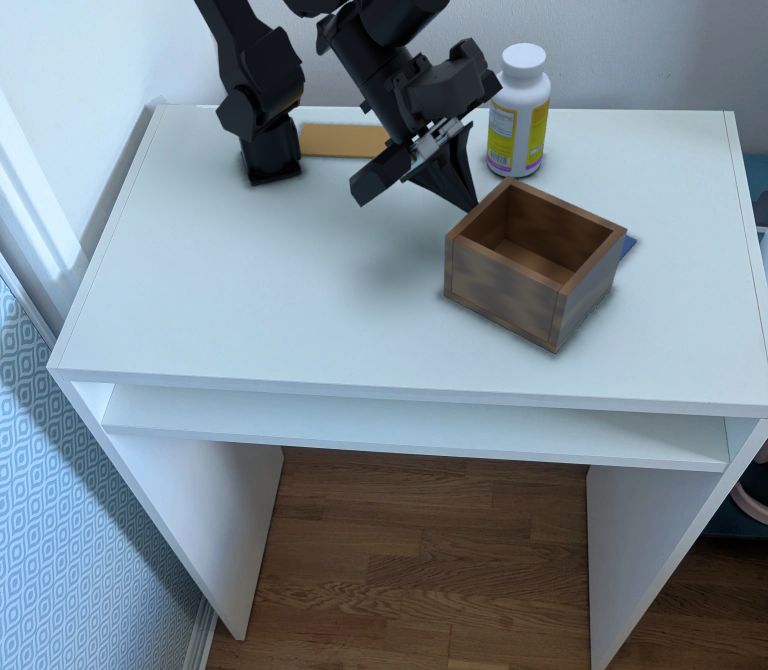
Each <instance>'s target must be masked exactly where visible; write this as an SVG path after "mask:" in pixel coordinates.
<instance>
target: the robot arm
mask: <svg viewBox="0 0 768 670" xmlns="http://www.w3.org/2000/svg"><path fill="white" fill-rule="evenodd" d="M193 2H194V4H195V5H196V8H197V9H198V11H199V13H200V15H201V16H202V18H203V20H204V22H205V24H206V25H207V27H208V29H209V31H210V32H211V35H212V36H213V38H214V41H215V42H216V47H217V62H218V76H219V79H220V81H221V83H222V85H223V87H224V90H225V92H226V94H227V95H226V96H225V98H224V99H223V101H222V102H221V103H220V104H219V106H218V107H217V108H216V109H215V114H216V117H217V119H218V121H219V124H220V126H221V128H222V129H223V130H224V131H226V132H228V133H230V134H232V135H234V136H236V137H238V142H239V146H240V149H241V151H240V156H241V160H242V163H243V166H244V169H245V172H246V175H247V178H248V183H249V184H250V186H255V185H260V184H263V183H268V182H272V181H277V180H281V179H286V178H289V177H294V176H298V175H301V174H302V171H303V170H302V166H301V164H300V162H299V161H301V160H302V157H303V156H301V151H300V145H299V140H300V138H299V133H298V128H297V126H296V124H295V121H294V118H293V117H292V116H290V114H289V113H290V112H292V111H293V110H294V109H297V108H298V107H300V105H301V99H302V97H303V94H304V91H305V83H306V77H305V72H304V69H303V67H302V64H303V60H302V58H301V57H299V55H298V54H297V52H296V51H295V48H294V47H293V45H292V42H291V40H290V38H289V35H288V32H287V31H286V30H285V29H284V28H283V26H281V25H278V26H277V27H275V28H272V27H271V26H269V25H268V24H267V23H265V22H264V21H262V20H261V19H259V18H258V17H257V15H256V14H255V12H254V9H253V8H252V5H251V3H250V2H249V0H193ZM282 2H283V3H284V4H285V6H286V7H287V8H288V9H289V10H290V11H291V12H292V14H294V15H295V16H297V17H298V18H300V19H304V18H305V19H306V18H307V19H314V18H317V17H318V16H320V15H322V14H323V15H325V16H323V17H322V18H320V20H318V21H317V22H316V24H315V27H316V40H315V52H316V54H317V56H319V57H322V56H323V55H325V54H326V53H328V52H329V51H330V50H332V52H333V53H334V55H335V56H336V58H337V59H338V61H339V62H340V63H341V65H342V66H343V68H344V70H345V71H346V73H347V74H348V75H349V77H350V78H351V80H352V81H353V83H354V85H355V86H356V88H357V89H358V91H359V92H360V94H361V95H362V97H363V98H364V100H363V101H362V102H361V103H360V104H359V105H358V107H359V108H360V109H361V111H362V113H363V114H364V115H367V114H368V113H370V112H371V111H372V112H373V114H374V115H375V116H376V118H377V119H378V121H379V122H380V124H381V126H383V127H384V128H385V130H386V131H387V133H388V134H389V136H390V137H391V138H389V139H388V140H387V141H386V142H385V143H384V144H385V145H386V147H387V148H386V149H384V150H383V151H382V152H381V153H379V154H378V155H377V156H376V157H374V158H371V159H370V160H369V161H368V162H367V163H365V165H363V166H362V167H361V168H360V169H359V170H357V171H356V172H355V173H354V174H353V175H351V176H350V177H349V178H348V185H349V190H350V191H349V192H350V195H351V196H352V197H353V199H354V200H355V202H356V203H357V204H358V206H359V207H360V208H363V207H364V206H365V205H367V204H369V203H370V202H372V201H373V200H374V199H376V198H377V197H379V196H380V195H381V194H383V193H384V192H386V191H387V190H388V189H390V188H391V187H392V186H393V185H395V184H396V183H397V182H398V181H399V182H400V183H401V184H404V183H406V182H407V181H408V182H410V183H412V184H414V185H416V186H418V187H421V188H423V189H425V190H427V191H429V192H430V193H432V194H435V195H436V196H438V197H440V198H442V199H443V200H445V201H446V202H448V203H450V204H451V205H453V206H455V207H456V208H457V209H460V210H461V211H463V212H464V213H466V214H468V213H469V212H470V211H471V210H472V209H473V208H474V207H475V206H477V205H478V204H479V200H478V196H477V193H476V192H477V191H476V188H475V184H474V179H473V176H472V172H471V167H470V163H469V157H468V151H467V147H468V146H467V145H468V140H469V136H470V131H471V129H472V128H473V127H474V120H473V119H472V120H471V121H469V122H468V123H466V124H465V125H464V123H463V122H462V120H463V119H464V118H466V117H467V116H468V115H469V114H470V113H471V112H473V111H474V110H476V109H477V108H478V107H480V106H481V105H482V104H486V103H488V102H490V99H491V98H492V97H493V96H495V95H496V94H497V93H498V92H499V91H500V90H501V89H503V87H502V85H501V83H500V82H499V80H498V78H497V77H496V75H497V74H496V73H495V72H494V70H492V69H489V63H488V62H487V60H486V58H485V54H484V52H483V51H482V49H481V48H480V47H479V45H478V43H476V41H475V40H474V38H473V37H471V36H470V37H467V38H463V39H460V40H459V41H458V42H457V43H455V44H454V45H453V46H452V47H450V49H449V52H448V53H449V54H448V58H446V59H445V60H444V61H442V62H441V63H439V64H435V65H433V64H432V63H431V62H430V60H429V58H428V57H427V55H425V54H423V53H422V51H420V52H418V53H417V54H416V55H415V56H414V57H413V55H412V53H411V52H410V50H409V49H408V47H407V45H409V44H410V43H411V42H413V40H414V39H415V38H416V37H418V35H419V34H420V33H422V31H424V30H425V28H427V27H428V26H429V24H431V23H432V21H434V20H435V19H436V18H437V17H438V16H439V14H441V13H442V12H443V11H444V10H445V9H446V8H447V7H448V5H449V3H451V0H282ZM338 9H339V10H338ZM337 10H338V11H337ZM336 11H337V12H336ZM334 12H336V13H334ZM430 123H433V125H431V126H430V127H428V125H430ZM416 137H417V138H416ZM415 138H416V140H413V139H415Z"/></svg>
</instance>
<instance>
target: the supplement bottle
mask: <svg viewBox="0 0 768 670" xmlns="http://www.w3.org/2000/svg"><path fill="white" fill-rule="evenodd" d="M546 63H547V53H546V51H545V49H544V48H542V47H541V46H540V45H537V44H534V43H531V42H530V43H529V42H521V43H515V44H512V45H510V46H507V47H506V48H505V49H504V50H503V52H502V54H501V62H500V68H501V71H499V72H498V73H497V74H495V75H496V77H497V78H498V80H499V82H500V83H501V85H502V87H503V89H501V90H500V91H499V92H498V93H497V94H496V95H495V96H493V97H492V98H491V99H490V100H489V112H488V125H487V141H486V142H487V143H486V161H487V164H488V165H487V166H488V167H489V168H490V170H492V171H493V172H494V173H495V174H497V175H499V176H502V177H505V178H506V177H507V176H510V177H512V178H523V177H526V176H528V175H529V176H530V175H531V174H532V173H534V172H535V171H537V170H538V168H539V167H540V165H541V164H542V161H543V155H544V146H545V139H546V132H547V124H548V117H549V109H550V101H551V97H552V96H551V95H552V82H551V80H550V78H549V76H548V75H547V73H545V72H544V70H545V68H546Z"/></svg>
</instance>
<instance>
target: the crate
mask: <svg viewBox="0 0 768 670" xmlns="http://www.w3.org/2000/svg"><path fill="white" fill-rule="evenodd" d="M627 233H628V228H626V227H624V226H622V225H620V224H618V223H616V222H613V221H611V220H609V219H607V218H604V217H602V216H600V215H598V214H595V213H593V212H591V211H588V210H587V209H584V208H582V207H580V206H577V205H575V204H573V203H570V202H568V201H566V200H563V199H561V198H559V197H558V196H555V195H552V194H550V193H548V192H546V191H543V190H541V189H539V188H537V187H534V186H532V185H530V184H528V183H525V182H523V181H521V180H518V179H517V178H515V177H510V176H507V177H505V178H504V179H503V180H502V181H500V182H499V183H498V184H497V185H496V186H495V187H494V188H493V189H492V190H491V191H490V192H489V193H488V194H487V195H485V197H484V198H482V199H481V200H480V201H479V202H478V205H477V206H475V207H474V208H473V209H472V210H471V211H470V212H469V213H466V215H465V216H464V217H463V218H462V219H461V220H460V221H458V222H457V223H456V224H455V225H454V226H453V227H452V228H451V229H450V230H449V231H447V233H446V234H445V235H444V259H443V260H444V262H443V263H444V264H443V265H444V266H443V296H444V297H446V298H448V299H450V300H452V301H454V302H455V303H458V304H459V305H461V306H463V307H465V308H467V309H469V310H471V311H473V312H475V313H477V314H479V315H480V316H482V317H484V318H486V319H488V320H490V321H491V322H493V323H496V324H497V325H499V326H501V327H503V328H505V329H507V330H509V331H511V332H512V333H515V334H517V335H519V336H520V337H522V338H524V339H526V340H528V341H529V342H532V343H534V344H535V345H537V346H539V347H541V348H543V349H545V350H547V351H549V352H551V353H553V354H557V352H558V351H559V350H560V349H561V348H562V347H563V345H564V344H565V343H566V342H567V341H568V340H569V339H570V338H571V336H572V335H573V333H575V332H576V330H578V329H579V327H580V326H581V325H582V324H583V323H584V321H585V320H586V319H587V318H588V317H589V316H590V315H591V314H592V312H594V310H595V309H596V307H597V306H598V305H599V304H600V303H601V302H602V301H603V299H604V298H605V297H606V296H607V295H608V294H609V293H610V291H612V287H613V284H614V279H615V277H616V273H617V270H618V265H619V263H620V261H619V259H620V255H621V252H622V248H623V245H624V241H625V237H626V235H627Z"/></svg>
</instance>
